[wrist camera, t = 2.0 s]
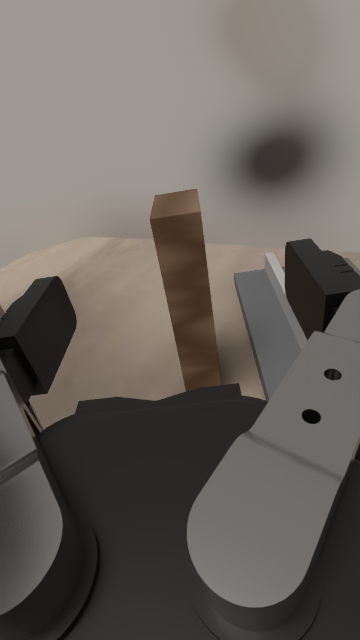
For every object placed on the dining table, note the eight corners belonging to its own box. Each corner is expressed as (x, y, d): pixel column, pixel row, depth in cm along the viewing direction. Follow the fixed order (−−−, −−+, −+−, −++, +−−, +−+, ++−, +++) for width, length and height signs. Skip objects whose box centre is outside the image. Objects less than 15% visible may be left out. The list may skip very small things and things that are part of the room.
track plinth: (273, 426, 25) (273, 394, 23) (234, 283, 43) (232, 257, 41) (469, 408, 24) (489, 372, 22) (345, 268, 42) (350, 241, 40)
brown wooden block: (187, 399, 29) (149, 219, 19) (187, 360, 33) (155, 195, 23) (222, 396, 28) (200, 211, 19) (217, 356, 32) (196, 188, 23)
